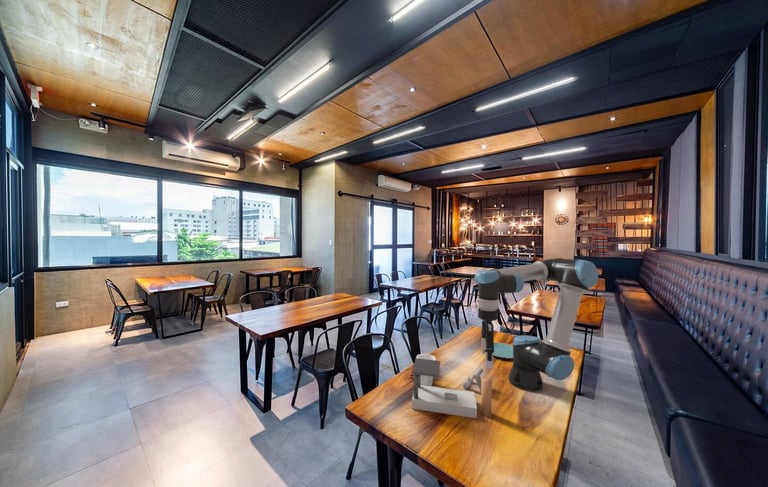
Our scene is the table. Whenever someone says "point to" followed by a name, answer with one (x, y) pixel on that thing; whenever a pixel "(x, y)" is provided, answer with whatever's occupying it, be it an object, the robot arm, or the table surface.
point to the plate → (503, 350)
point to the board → (445, 401)
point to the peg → (486, 397)
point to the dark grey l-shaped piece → (424, 372)
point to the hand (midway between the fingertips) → (486, 360)
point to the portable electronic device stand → (475, 376)
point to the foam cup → (424, 379)
